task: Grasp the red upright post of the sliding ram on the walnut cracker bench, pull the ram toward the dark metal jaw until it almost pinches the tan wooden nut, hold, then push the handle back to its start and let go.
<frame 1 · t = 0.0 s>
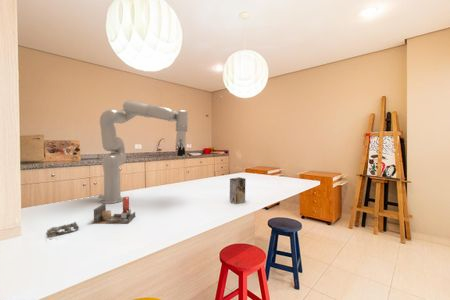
hand: (181, 155, 140), 31 cm above the counter, fingers open, 9 cm apart
egg carton: (63, 235, 92), on the counter
nut: (106, 219, 106), point 1 cm above the counter, touching cracker bench
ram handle: (126, 208, 106), point 7 cm above the counter, slide at 0.0 cm
cracker bench: (114, 222, 106), on the counter
coffee box: (237, 202, 145), on the counter
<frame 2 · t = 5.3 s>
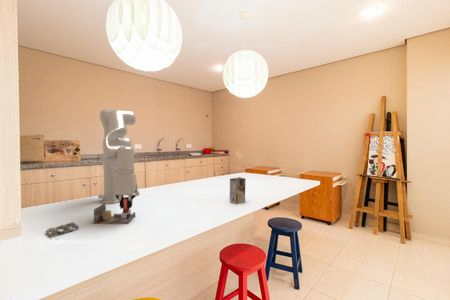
hand: (126, 207, 106), 8 cm above the counter, fingers closed on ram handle, 2 cm apart
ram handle: (126, 208, 106), point 7 cm above the counter, slide at 0.0 cm, touching gripper
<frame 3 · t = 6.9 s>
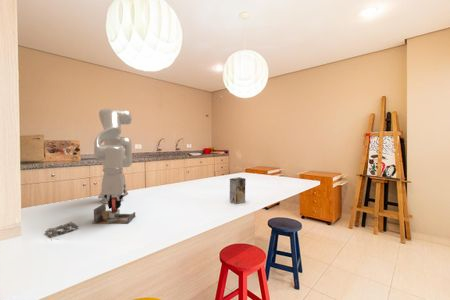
hand: (114, 207, 106), 8 cm above the counter, fingers closed on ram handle, 2 cm apart
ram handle: (114, 208, 106), point 7 cm above the counter, slide at 5.6 cm, touching gripper
everything else where it was.
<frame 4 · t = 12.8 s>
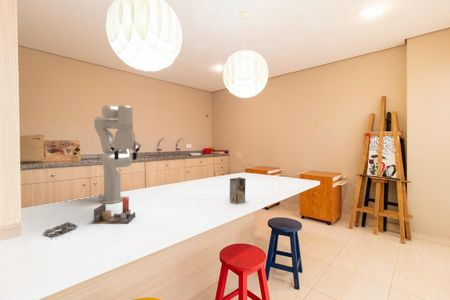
hand: (125, 159, 117), 30 cm above the counter, fingers open, 9 cm apart
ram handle: (125, 208, 106), point 7 cm above the counter, slide at 0.2 cm
at the end: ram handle slide at 0.2 cm; the gripper is holding nothing; nut 0.0 cm from the target spot, point 1.5 cm above the counter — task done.
